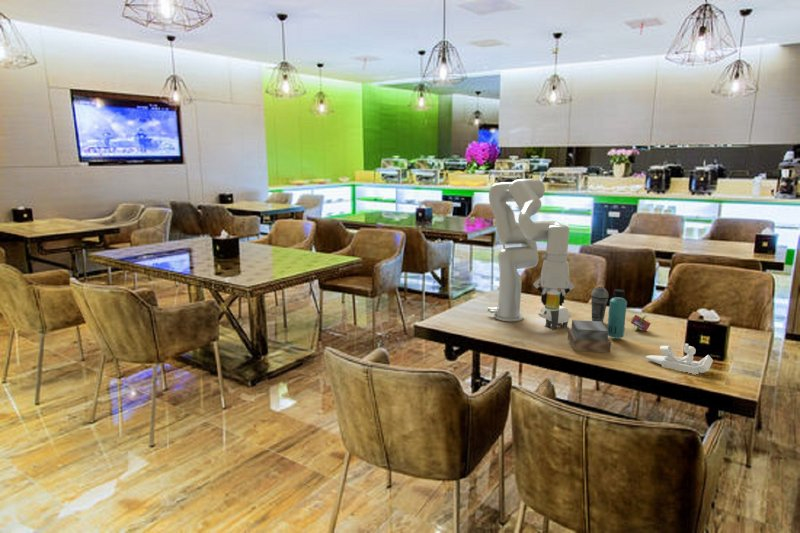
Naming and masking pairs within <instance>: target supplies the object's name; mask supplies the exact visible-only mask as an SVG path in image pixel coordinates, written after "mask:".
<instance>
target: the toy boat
mask: <svg viewBox="0 0 800 533" xmlns="http://www.w3.org/2000/svg"><path fill="white" fill-rule="evenodd" d="M683 346H684V347H683V352H684V353H685V354H686V355H685V356H681V357H678V356H676V354H675V351H674V350H673V348H672V346H670V345H660V346H659V351H660V352H661V354H662V355H657V354H656V355H652V354H651V355H646V356H645V358H646V359H647V360H649V361H651V362H652V363H656V364H658V365H660V366H661V368H665V367H666V368H665V369H669V368H671V369H670V370H673V369H675V370H674V371H677V370H680V371H679V372H681V371H683V372H682V373H685V372H688V373H687V374H689V373H692V374H691V375H696V374H698V375H699V374H702V373H707V372H709V370H710V369H711V366H712V364H713V362H714V360H713V358H712V357H711V356H710V355H709V354H707V355H706V356H705V357H703V358H702V359H700V360H698V361H696V360H694V358H695V357H694V355H695V354H696V351H697V350H696V348H695V347H694V346H691V345H689V343H684V345H683Z"/></svg>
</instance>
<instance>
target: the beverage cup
mask: <svg viewBox="0 0 800 533" xmlns="http://www.w3.org/2000/svg"><path fill="white" fill-rule="evenodd" d="M603 278H604V277H601V279H600V281H601V282H600V286H596V287H595V288H593V290H592V291H591V294H590V301H591V321H601V322H602V323H603V324H604V320H605V315H606V309H607V304H608V300H609V292H608V290H607V289H606V288H605V287H603Z"/></svg>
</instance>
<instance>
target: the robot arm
mask: <svg viewBox="0 0 800 533" xmlns="http://www.w3.org/2000/svg"><path fill="white" fill-rule="evenodd" d="M545 190H546V188H545V185H544V182H543V181H541V179H538V178H519V179H515V180H514V181H501V182H496V183H494V184H493V185H491V186H490V189H489V193H488V201H489V205H490V208H491V210H492V213H493V216H494V220H495V226H496V232H497V239H498V241H499V244H501V245H504V246H509V247H504V248H502V249H501V250H499V252H498V255H497V262H498V270H499V272H498V273H499V276H498V277H499V280H498V281H499V282H498V283H499V284H498V285H499V286H498V301H497V302H498V303H497V304H498V305H496V306H494V307H489V306H488V307H487V312H488V313H490V314H494V315H493V317H494V319H496V320H498V321H502V322H508V323H509V322H511V323H512V322H514V323H515V322H520V321H523V319H524V315H523V314H522V313H520V312H521V297H522V296H521V295H522V276H521V275H520V274H519V271H518V270H522V269H532V268H535V267H536V266H537V265H538V263H539V252H538V245H537V242H546V251H545V253H543V254H541V258H542V259H544V260H543V262H542V266H541V272H540V277H539V278H538V279H536V281H534V283H532V284H533V287H534V288H536V289H537V290H538V292H539V293H540V294H541V296H542V297H541V296H540V302H541V303H542V302H543V303H542V304H543V306H545V305H546V290H547V289H549V288H552V289H558V290H560V292H561V295H560V306H563V304H565V296H566V295H567V294H568V293H569V292H570V291H572V290H573V289H574V288H575V287H576V286H575V285H574V284H573V282H572V281H571V279H570V264H569V262H568V260H567V258H568V249H569V238H570V236H569V235H570V228H569V226H568V225H566V224H561V223H560V222H558V221H555V220H543V221H537V220H536V221H533V220H532V219H531V217H533V216H534V215H537V213H538V212H539V211H540V210H541V209H542V208H541V207H542V200H540V199H542V198H543V197H544V195H545ZM507 202H508V203H509V202H510V203H514V202H515V204H516V205H517V207H518V209H519V210H520V212H519V214H518V222H517V221H516V217H515V213H514V211H513V209H512V207H510V205H508V204H507ZM512 245H513V246H512ZM514 245H515V246H514ZM517 245H520V246H517ZM510 246H512V247H510ZM539 284H540V285H539Z"/></svg>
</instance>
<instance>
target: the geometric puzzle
mask: <svg viewBox="0 0 800 533" xmlns="http://www.w3.org/2000/svg"><path fill="white" fill-rule="evenodd" d="M647 317H648V316H647V315H644V316H643V317H641V316H639V314H635V315H634V316H632V317H631V321H630V324H631V325H634V326H633V329H634V332H638V331H639V330H641V332H643V333H644V332H646V333H647V331H648V330H649V328H650V325H651V324H652V323H651V322H649V321H650V320H649V319H648V318H647ZM646 318H647V319H646ZM648 320H649V321H648ZM635 327H636V328H635Z"/></svg>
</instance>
